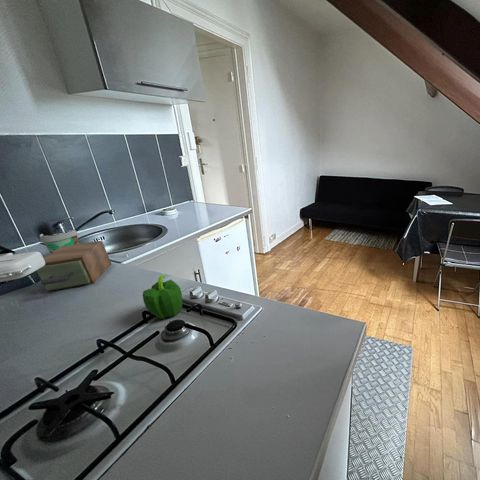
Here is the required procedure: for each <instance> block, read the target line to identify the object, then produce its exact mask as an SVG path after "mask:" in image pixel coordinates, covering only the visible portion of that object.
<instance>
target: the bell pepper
mask: <svg viewBox="0 0 480 480" xmlns="http://www.w3.org/2000/svg"><path fill="white" fill-rule="evenodd" d="M165 278H166V276H165V275H164V274H162V275H160V276H158V279H157V282H155V283H154V284H152V286H151V287H150V288H148V289H145V290H143V292H142V300H143V303H144V306H145V308H146V310H147V311H148V312H149V313H150V314H151V315H152V314H153V315H155V316H156V317H155V318H156V319H159V320H163V319H165V318H171V317H176V316H177V315H178V314H179V313H180V312H181V310H182V308H183V294H182V291H181V287H180V285H178V283H176V282H175V281H174V280H172V279H169V280H165V281H163V280H164V279H165ZM153 315H152V316H153Z"/></svg>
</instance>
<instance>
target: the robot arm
mask: <svg viewBox="0 0 480 480" xmlns="http://www.w3.org/2000/svg"><path fill="white" fill-rule="evenodd" d="M44 258H45V257H44V256H43V255H42V253H41V252H39V251H36V250H35V251H27V252H22V253H13V252H8V253H0V283H2V282H8V281H14V280H18V279H19V280H20V279H22V278H25V277H27V276H29V275H31V274H33V273H35V272H37V271H36V270H38V269H40V268H41V267H43V266H44V265H45V260H44Z"/></svg>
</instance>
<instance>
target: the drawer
mask: <svg viewBox="0 0 480 480" xmlns="http://www.w3.org/2000/svg"><path fill="white" fill-rule="evenodd" d="M35 272H37V274H38V277H39V278H40V280H41V281H40V283H41V285H42V286H44V287H45V289H46V291H48V290H53V289H59V288H64V287H70V286H75V285H81V284H86V283H89V282H90V279H89V277H88V275H87V273H86V270H85V268H84V266H83V264H82V262H81V260H75V261H68V262H62V263H56V264H49V265H44V266H43V267H41V268H40V269H38V270H36V271H35ZM70 288H71V287H70ZM59 290H60V289H59Z"/></svg>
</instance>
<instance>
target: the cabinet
mask: <svg viewBox="0 0 480 480" xmlns="http://www.w3.org/2000/svg"><path fill="white" fill-rule="evenodd" d="M43 258H44V260H45V265H49V264H56V263H62V262H68V261H75V260H81V262H82V264H83V266H84V268H85V270H86V273H87V275H88V277H89V279H90V282H89V283H86V284H81V285H75V286H70V287H64V288H59V289H53V290H47V291H48V292H55V291H60V290H64V289H70V288H76V287H80V286H86V285H92V284H95V283H96V282H97V281H98V279H99V278H101V276H102V275H103V274H104V273H105V272H106V271H107V270H108V269H109V268H110V267H111V265H112V261H111V259H110V256H109V254H108V252H107V250H106V247H105V244H104V242H103V240H98V241H97V240H96V241H91V242H83V243H79V244H76V245H69V246H62V247H60V248H59V249H57V250H55V251H54V252H52V253H49V254H48V255H46V256H44V257H43Z"/></svg>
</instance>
